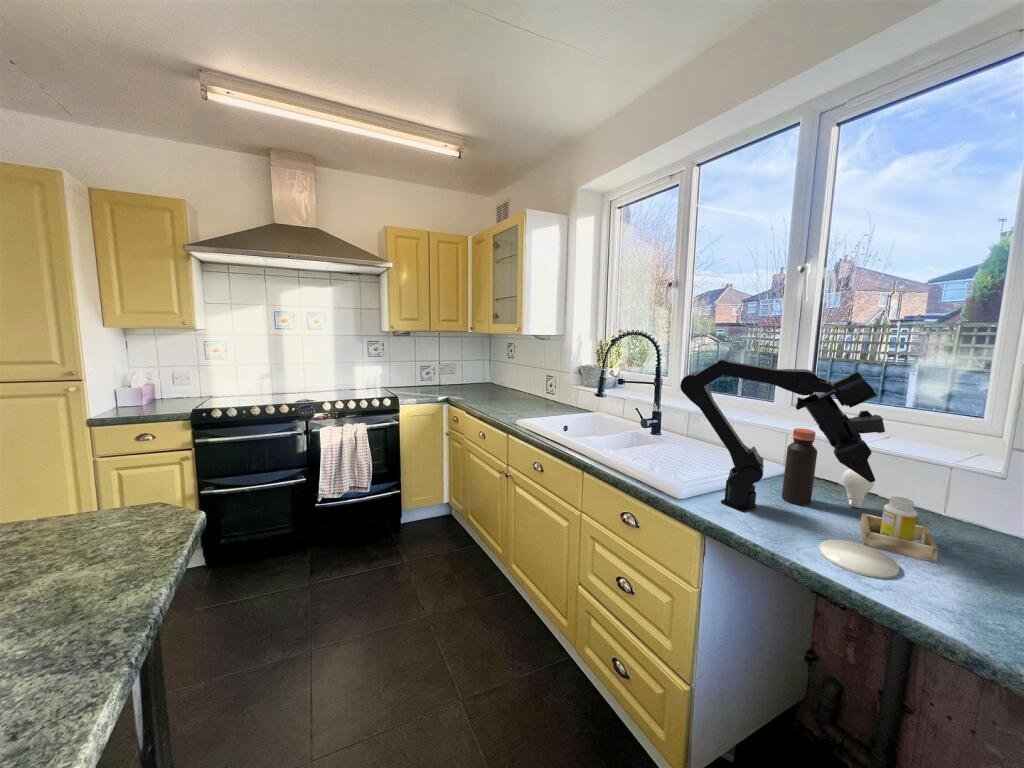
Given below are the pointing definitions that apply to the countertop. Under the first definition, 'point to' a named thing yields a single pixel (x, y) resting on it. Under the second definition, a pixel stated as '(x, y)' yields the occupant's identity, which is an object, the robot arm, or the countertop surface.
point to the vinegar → (800, 468)
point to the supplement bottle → (899, 519)
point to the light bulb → (855, 487)
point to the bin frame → (899, 540)
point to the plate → (859, 558)
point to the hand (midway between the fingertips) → (869, 475)
